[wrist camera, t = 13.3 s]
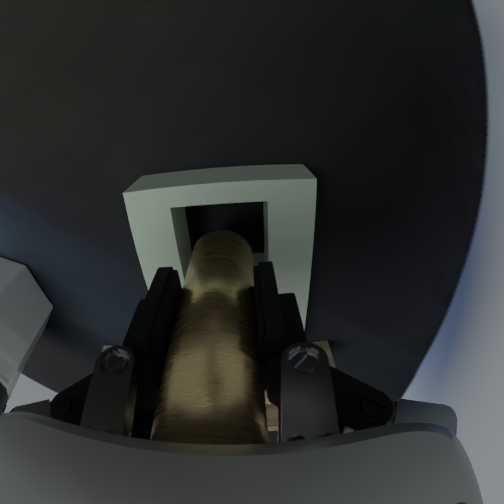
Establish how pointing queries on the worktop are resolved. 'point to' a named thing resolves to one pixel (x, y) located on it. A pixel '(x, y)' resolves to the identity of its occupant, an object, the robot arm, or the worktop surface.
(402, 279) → the worktop surface
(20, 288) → the jar
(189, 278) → the pin
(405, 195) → the worktop surface
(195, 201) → the board
